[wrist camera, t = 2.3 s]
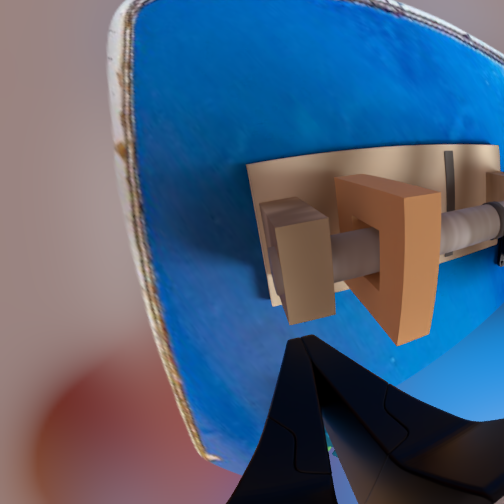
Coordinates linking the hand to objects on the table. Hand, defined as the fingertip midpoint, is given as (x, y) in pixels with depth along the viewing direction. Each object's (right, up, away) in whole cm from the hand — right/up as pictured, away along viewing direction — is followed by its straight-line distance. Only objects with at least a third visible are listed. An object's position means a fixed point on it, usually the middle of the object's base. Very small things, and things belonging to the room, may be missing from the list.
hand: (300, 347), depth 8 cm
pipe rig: (+11, +6, +12) cm, 17 cm away
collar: (+5, +4, +9) cm, 11 cm away
